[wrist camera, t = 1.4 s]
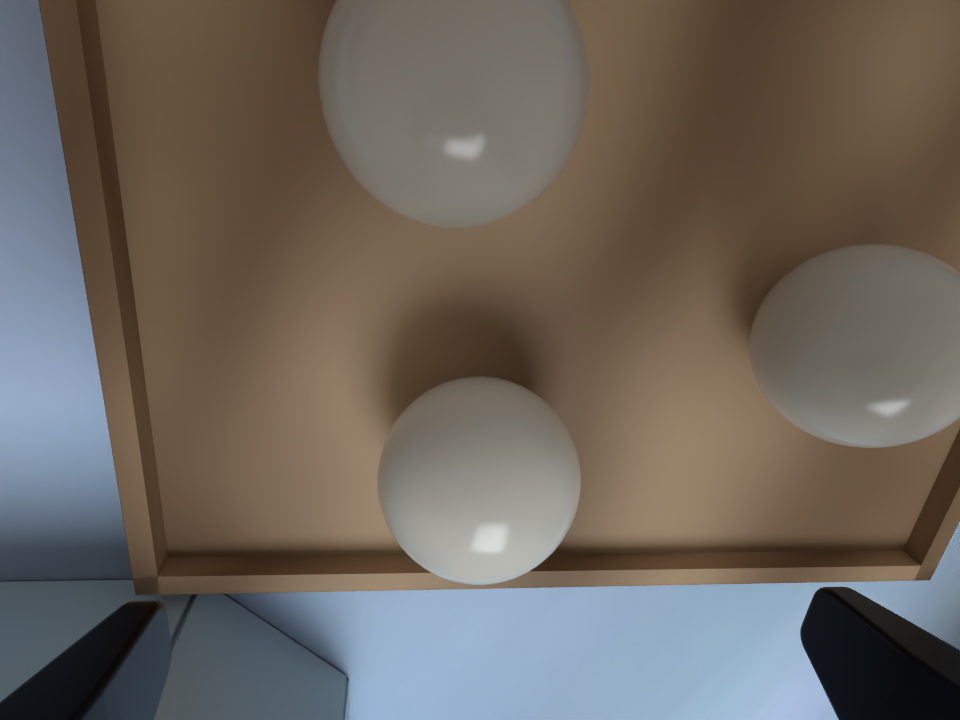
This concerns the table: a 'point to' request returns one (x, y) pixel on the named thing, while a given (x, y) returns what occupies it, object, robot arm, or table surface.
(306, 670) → the bowl
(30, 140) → the table surface
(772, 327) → the pebble
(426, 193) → the pebble
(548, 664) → the table surface
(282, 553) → the tray
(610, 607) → the table surface
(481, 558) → the white ball
